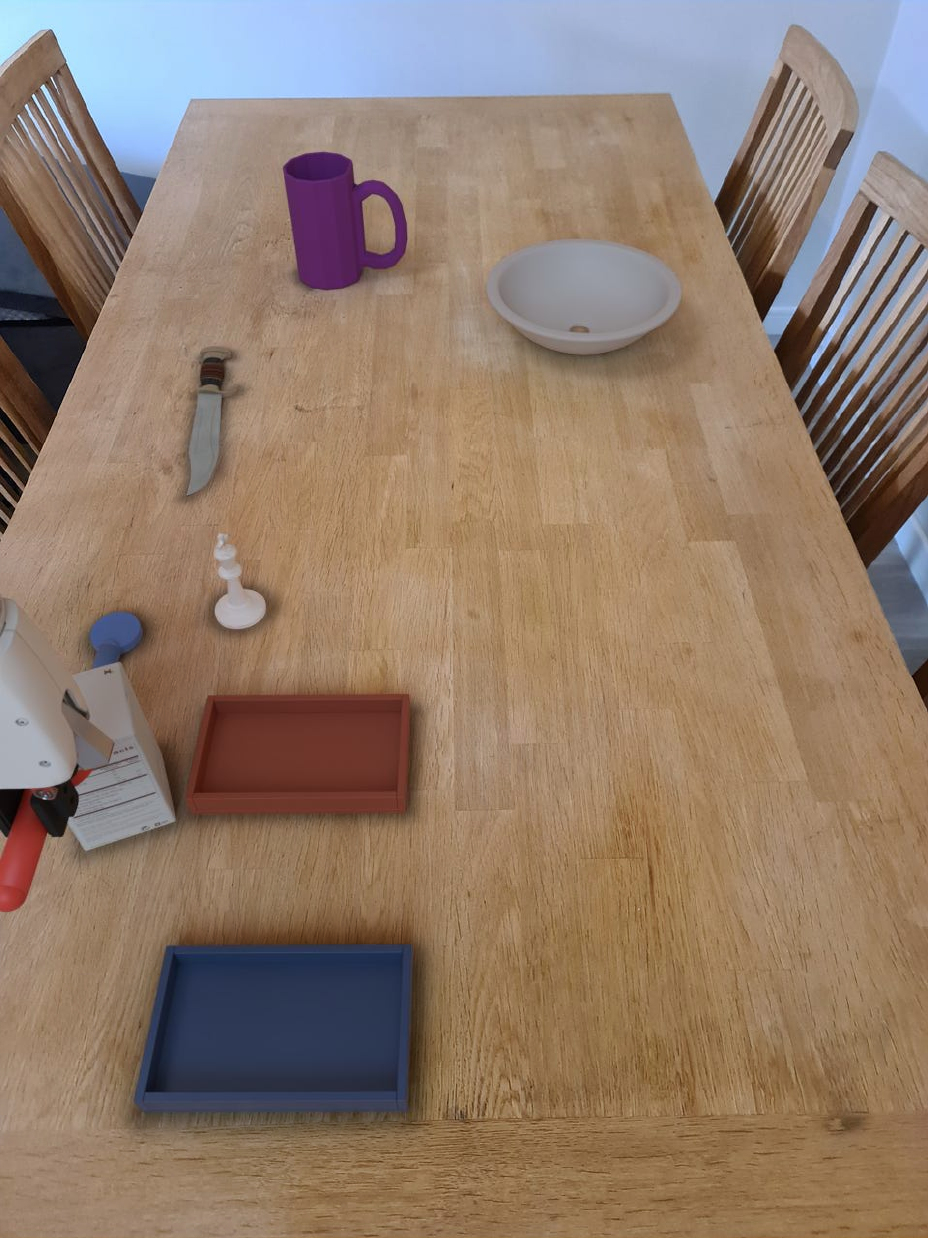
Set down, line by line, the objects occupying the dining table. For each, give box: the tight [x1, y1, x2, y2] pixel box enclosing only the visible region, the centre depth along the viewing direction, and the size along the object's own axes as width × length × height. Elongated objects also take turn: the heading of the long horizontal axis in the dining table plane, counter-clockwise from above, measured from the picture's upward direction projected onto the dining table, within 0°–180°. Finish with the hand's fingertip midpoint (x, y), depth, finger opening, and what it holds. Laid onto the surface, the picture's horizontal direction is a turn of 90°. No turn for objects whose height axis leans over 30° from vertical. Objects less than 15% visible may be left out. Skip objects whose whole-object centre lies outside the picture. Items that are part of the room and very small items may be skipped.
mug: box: [282, 151, 409, 291], centre depth 129 cm, size 9×16×15 cm, turn 87°
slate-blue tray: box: [133, 943, 414, 1114], centre depth 65 cm, size 17×10×3 cm, turn 90°
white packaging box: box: [67, 661, 177, 852], centre depth 74 cm, size 7×7×13 cm
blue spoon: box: [89, 611, 144, 670], centre depth 87 cm, size 13×5×2 cm, turn 0°
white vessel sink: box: [485, 238, 683, 356], centre depth 122 cm, size 24×24×7 cm
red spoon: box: [0, 768, 94, 913], centre depth 58 cm, size 13×5×2 cm, turn 0°
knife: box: [185, 345, 238, 497], centre depth 112 cm, size 27×2×5 cm
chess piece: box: [213, 532, 267, 630], centre depth 89 cm, size 5×5×10 cm
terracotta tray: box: [184, 693, 412, 815], centre depth 80 cm, size 17×10×3 cm, turn 90°
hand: (41, 814), depth 59 cm, fingers closed on red spoon, 2 cm apart
